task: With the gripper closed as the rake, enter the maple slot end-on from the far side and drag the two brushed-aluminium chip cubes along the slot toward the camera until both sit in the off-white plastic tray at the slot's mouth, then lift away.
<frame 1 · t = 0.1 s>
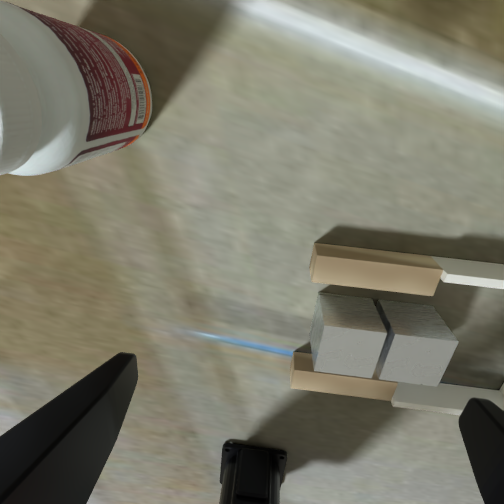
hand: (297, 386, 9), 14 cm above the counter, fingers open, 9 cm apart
slot rails: (352, 318, 25), on the counter
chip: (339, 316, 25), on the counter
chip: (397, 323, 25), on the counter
pill bottle: (107, 95, 20), on the counter
chip tray: (470, 333, 25), on the counter
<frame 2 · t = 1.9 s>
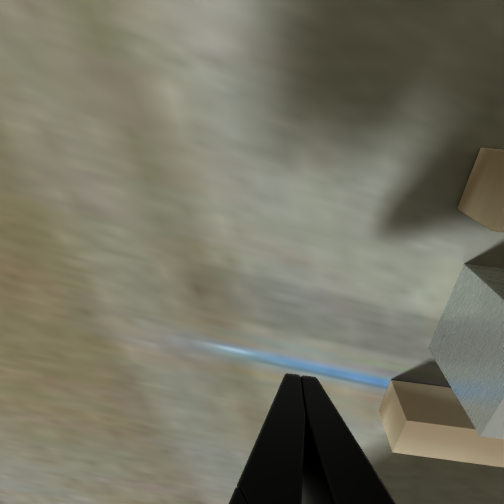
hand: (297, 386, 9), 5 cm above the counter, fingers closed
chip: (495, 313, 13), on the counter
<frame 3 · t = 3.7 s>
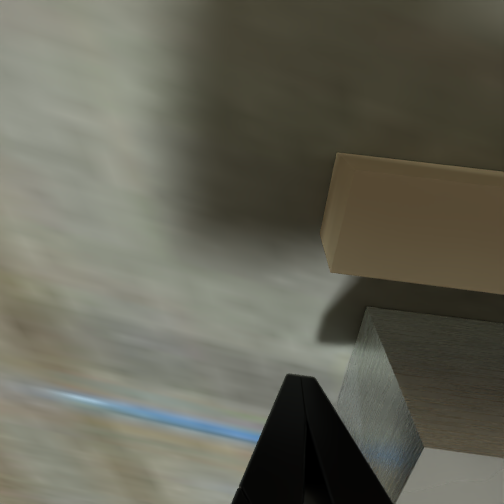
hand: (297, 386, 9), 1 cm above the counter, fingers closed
slot rails: (426, 372, 10), on the counter
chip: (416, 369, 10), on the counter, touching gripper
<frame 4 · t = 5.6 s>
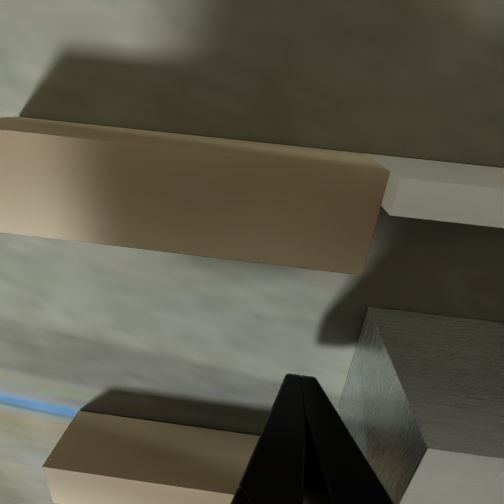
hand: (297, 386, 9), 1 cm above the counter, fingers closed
slot rails: (186, 339, 10), on the counter
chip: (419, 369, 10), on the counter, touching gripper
chip tray: (483, 378, 10), on the counter
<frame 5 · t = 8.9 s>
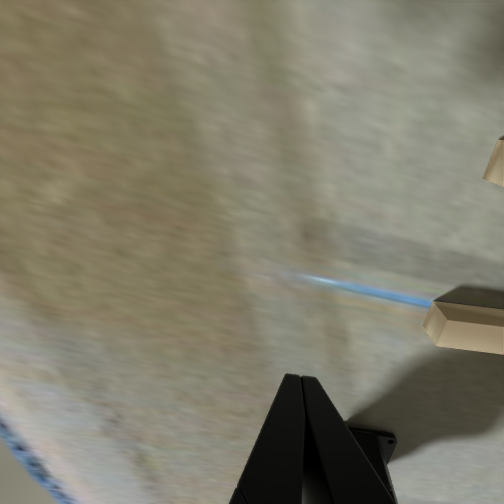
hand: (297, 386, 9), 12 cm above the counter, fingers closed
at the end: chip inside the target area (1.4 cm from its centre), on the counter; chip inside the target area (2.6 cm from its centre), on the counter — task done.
